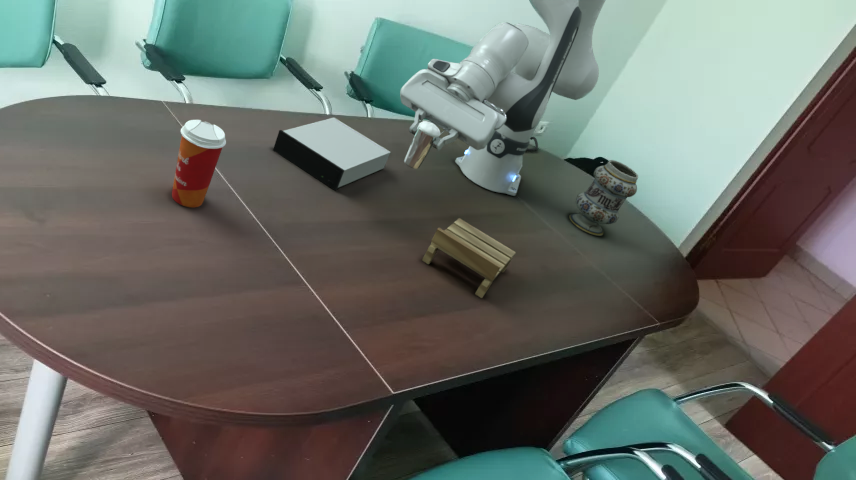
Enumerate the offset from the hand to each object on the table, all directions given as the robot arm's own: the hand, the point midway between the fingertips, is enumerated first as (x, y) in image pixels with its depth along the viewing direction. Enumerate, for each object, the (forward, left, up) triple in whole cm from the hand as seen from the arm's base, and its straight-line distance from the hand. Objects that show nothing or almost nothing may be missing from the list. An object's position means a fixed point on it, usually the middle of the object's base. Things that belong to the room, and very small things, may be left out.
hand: (423, 139), depth 129 cm
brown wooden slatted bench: (-4, +18, -20) cm, 27 cm away
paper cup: (+31, -27, -20) cm, 46 cm away
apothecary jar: (-61, +34, -20) cm, 72 cm away
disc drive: (-13, -22, -20) cm, 32 cm away
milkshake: (-1, 0, -6) cm, 6 cm away
